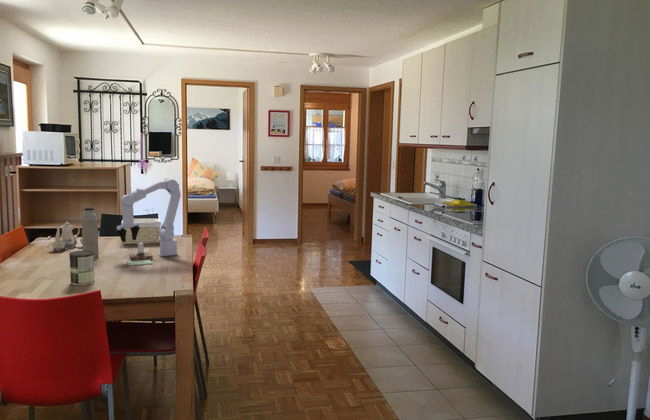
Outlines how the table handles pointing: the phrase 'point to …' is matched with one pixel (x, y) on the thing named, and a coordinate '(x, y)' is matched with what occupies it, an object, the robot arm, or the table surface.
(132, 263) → the sage mat
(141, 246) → the steel peg
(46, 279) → the table surface
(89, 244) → the thermos bottle
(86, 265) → the coffee can
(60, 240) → the chinaware
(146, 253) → the eye block
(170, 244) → the robot arm
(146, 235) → the storage basket
